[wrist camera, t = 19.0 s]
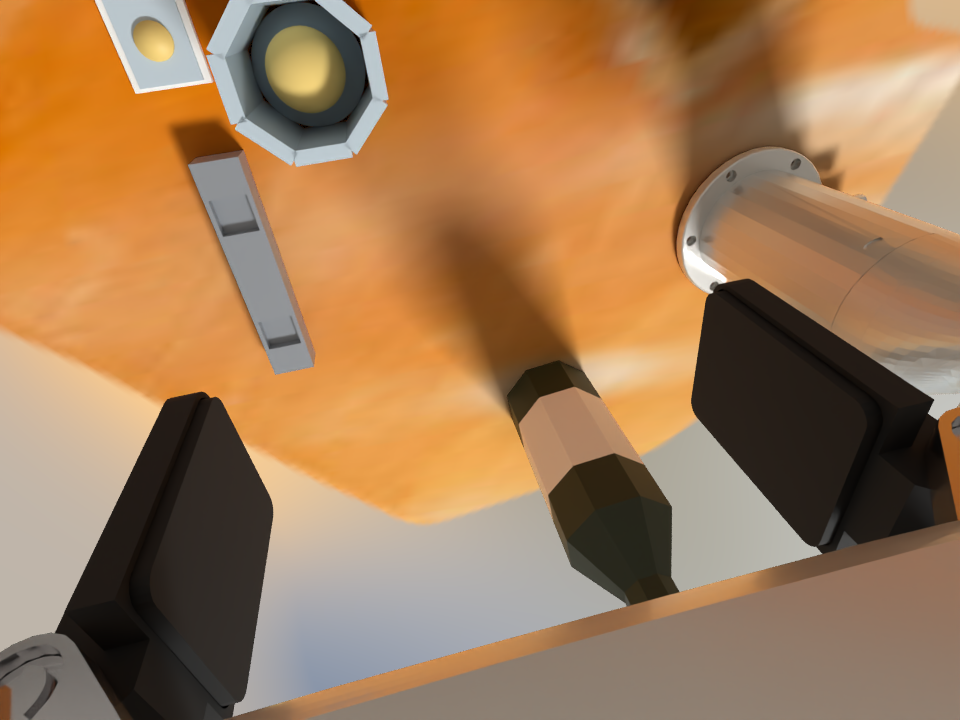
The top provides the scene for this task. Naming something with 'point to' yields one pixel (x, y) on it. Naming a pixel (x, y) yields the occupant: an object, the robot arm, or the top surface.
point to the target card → (156, 43)
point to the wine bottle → (594, 484)
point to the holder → (254, 257)
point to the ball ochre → (305, 69)
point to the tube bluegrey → (278, 120)
